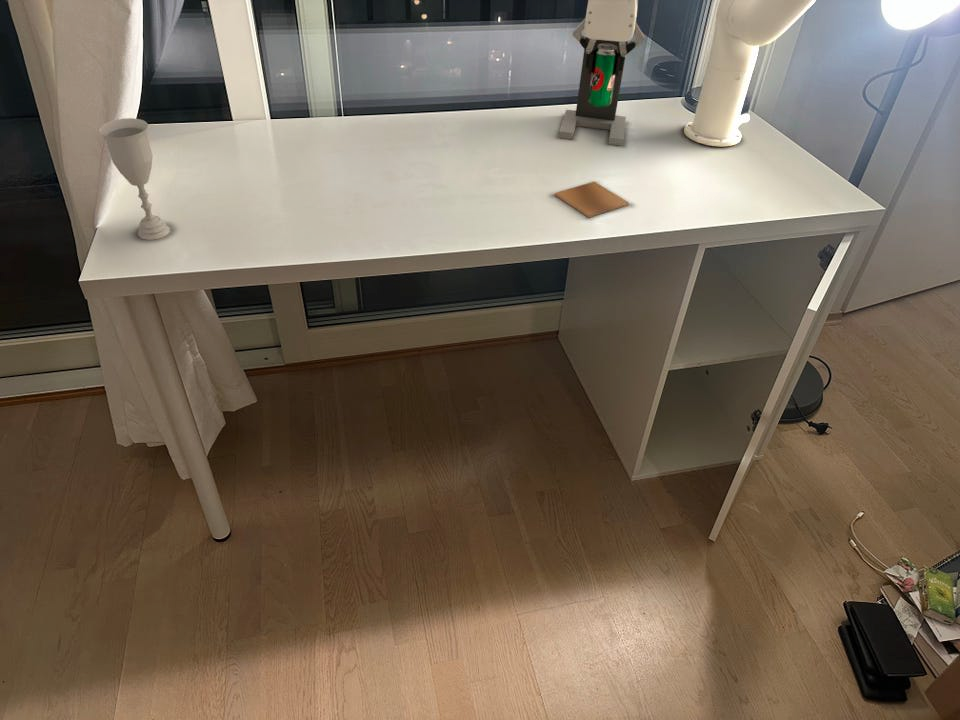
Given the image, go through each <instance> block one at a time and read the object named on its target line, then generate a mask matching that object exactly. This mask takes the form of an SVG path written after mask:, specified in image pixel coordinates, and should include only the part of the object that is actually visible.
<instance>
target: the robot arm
mask: <svg viewBox="0 0 960 720" xmlns="http://www.w3.org/2000/svg"><path fill="white" fill-rule="evenodd" d="M815 2H817V0H719V2H718V5H717V9H716V12H715V13H716V14H715V22H714V30H713V31H714V32H713V37H712V43H711V48H710V52H709V57H708V60H707V63H706V69H705V71H704V72H705V73H704V76H703V80H702V84H701V88H700V93H699V97H698V101H697V104H696V109H695V113H694V117H693V120H692V121H690V122H688V123H686V124H685V125H684V129H683V133H684V135H685V136H686V137H687V138H688V139H690V140H691V141H693V142H696V143H698V144H702V145H706V146H710V147H731V146H735V145H737V144H738V143H740V141H741V139H742V133H741V131H740V130H739V127H740V125H742V124H745V123H748V122H749V121H750V119H751V118H750V114H748V113H742V110H743V107H744V102H745V99H746V96H747V92H748V89H749V85H750V83H751V82H750V81H751V78H752V75H753V71H754V69H755V66H756V62H757V57H758V54H759V48H760V47H764V46H766V45H769V44H771V43H773V42H774V41H776V40H777V39H778V38H779V37H781V36H782V35H783V34H784V33H785V32H787V30H788V29H790V27H791V26H792V25H793V24H795V22H797V20H798V19H799V18H800V17H801V16H802V15H803V14H805V12H806V11H807V10H808V9H809V8H810V7H811V6H812V5H814V3H815ZM638 5H639V0H587V6H586V14H585V17H584V19H583V20H582V21H581V22H580V23H579V24H578V25H577V26H576V28H575V29H574V30H573V31H572V37H573V38H575V40H576V41H577V42H579V44H580V45H581V47H582V48H583V50H584V49H585V51H586V53H587V58H586V66H585V68H588V74H590V73H591V72H592V65H593V57H594V48H593V47H594V44H595V42H596V40H607V41H619V46H620V52H619V53H618V59H617V66H616V73H615V75H616V76H619V71H623V72H624V68H623V65H624V66H625V62H624V58H625V59H626V57H625V56H627V55H628V54H629V53H630V52H632V51H633V50H634V49H635V48H637V47H638V46H639V45H641V44H642V43H644V42H645V40H646V37H645V35H644V33H643V31H642V29H641V28H640V26H639V25H638V23H637V17H638V9H639V8H638V7H639V6H638ZM582 32H583V33H582ZM583 34H584V35H583ZM634 36H635V38H634V39H633V37H634ZM586 37H587V38H590V40H589V41H588V40H587V39H586ZM627 41H628V44H626V42H627ZM741 113H742V114H741Z"/></svg>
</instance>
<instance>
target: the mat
mask: <svg viewBox="0 0 960 720" xmlns="http://www.w3.org/2000/svg"><path fill="white" fill-rule="evenodd" d="M554 196H555V197H556V198H558V199H559V200H561V201H563V202H564V203H565V204H567V205H569V206H570V207H571V208H573V209H575V210H576V211H578V212H579V213H581V214H582V215H584V216H585V217H587V218H592V217H596V216H598V215H602V214H605V213H608V212H611V211H614V210H617V209H620V208H622V207H623V208H624V207H626V206H630V205H629V204H630V202H629V201H627V200H626V199H624V198H622V197H621V196H619V195H618V194H616V193H614V192H612V191H611V190H609V189H607V188H605V187H604V186H603V185H601V184H599V183H597V182H596V181H591V182H588V183H584V184H580V185H577V186H574V187H571V188H567V189H564V190H561V191H560V190H559V191H557V192H555V193H554Z"/></svg>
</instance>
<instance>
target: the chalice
mask: <svg viewBox="0 0 960 720" xmlns="http://www.w3.org/2000/svg"><path fill="white" fill-rule="evenodd" d="M148 126H149V124H148V122H147V121H145V120H144V119H139V118H132V117H130V118H129V117H128V118H118V119H114V120H111V121H108V122H106V123H104V124H102V125H101V126H100V127H99V129H98V132H99V134H100V135H101V136H102V137H103V138H104V139H105V142H106V145H107V149H108V152H109V155H110V159H111V161H112V164H113V165H114V166H115V168H116V169H117V171H118V172H119V173H120V174H121V175H122V177H124V179H125V180H126V181H127V182H128V183H129V184H130V185H131V186H134V187H137V188H138V189H137V190H138V196H137V197H138V198H139V199H140V200H141V201H142V202H141V205H140V208H141V209H143V211H144V212H145V216H144V217H142V218H141V219H140V221H139V226H138V232H137V236H138V237H139V238H140V239H143V240H146V241H147V240H148V241H153V240H158V239H161V238H164V237H166V236H168V235H169V233H170V231H171V229H170V227H169V226H168V225H167V223H166V222H165V221H164V220H163V218H161V217H160V216H158V215H155V214H153V212H152V207H153V204H152V203H150V201H149V196H150V194H149V193H148V192H147V190H146V189H145V185H146V184H148V183H149V181H150V176H151V171H152V167H153V157H154V156H153V151H152V148H151V145H150V141H149V137H148V133H147V131H148Z"/></svg>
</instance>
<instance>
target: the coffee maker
mask: <svg viewBox="0 0 960 720" xmlns="http://www.w3.org/2000/svg"><path fill="white" fill-rule="evenodd" d="M585 37H586V36H585ZM586 39H587V40H588V41H589V40H590V38H587V37H586ZM628 43H629V41H627V42H626V44H628ZM599 44H612V45H615V46H617V50H618V53H619V52H620V46H619V41H607V40H596V42H595V44H594V47H593V48H594V51H595V49H596V48H597V45H599ZM626 56H627V55H626ZM626 56H625V58H624V63H625V61H626ZM586 58H587V53H586V51H585V49H584V48H583V57H582V64H581V70H580V78H579V85H578V86H579V87H578V92H577V93H578V94H577V100H576V108H575V110H574V109H567V108H566V109H565V112H564V115H563V119H562V121H561V125H560V128H559V132H558V139H566V140H573V137H574V134H575V129H576V127H582V128H590V129H599V130H607V131H609V137H608V143H607V144H608V145H611V146H612V145H613V146H620V147H622V146H623V143H624V135H625V129H626V121H627V116H626V115H625V116H624V115H616V114H617V108H618V103H619V97H620V90H621V84H622V79H623V73H624V70H623V71H619V76H616V75H615V81H614V88H613V95H612V102H611V104H610V105H609V106H607V107H603V108H599V107H594V106H592V105H590V103H589V102H588V98H589V90H590V81H591V73H592V72H591V73H590V74H588V68H585V66H586ZM624 68H625V64H624V65H623V69H624Z"/></svg>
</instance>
